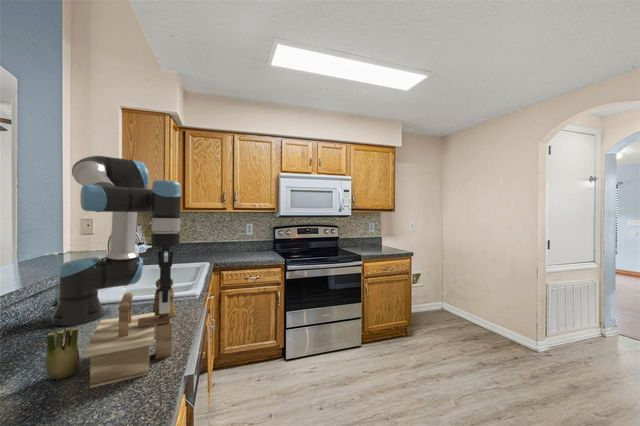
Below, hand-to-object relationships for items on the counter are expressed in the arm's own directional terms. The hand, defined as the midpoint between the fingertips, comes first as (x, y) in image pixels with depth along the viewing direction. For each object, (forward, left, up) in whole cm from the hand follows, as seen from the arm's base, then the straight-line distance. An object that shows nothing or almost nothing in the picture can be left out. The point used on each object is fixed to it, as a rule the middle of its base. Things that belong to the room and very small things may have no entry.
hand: (164, 308), depth 83 cm
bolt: (0, -3, -4) cm, 5 cm away
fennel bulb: (+1, -22, -14) cm, 26 cm away
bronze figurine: (-33, 0, -14) cm, 36 cm away
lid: (0, -10, -6) cm, 11 cm away
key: (-46, +2, -14) cm, 48 cm away
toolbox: (0, -7, -14) cm, 15 cm away
